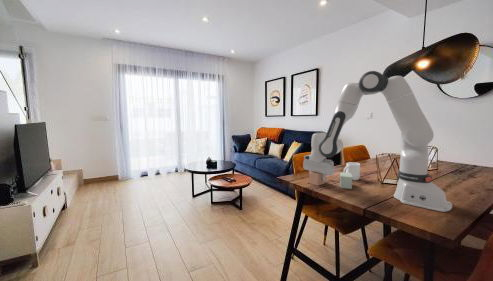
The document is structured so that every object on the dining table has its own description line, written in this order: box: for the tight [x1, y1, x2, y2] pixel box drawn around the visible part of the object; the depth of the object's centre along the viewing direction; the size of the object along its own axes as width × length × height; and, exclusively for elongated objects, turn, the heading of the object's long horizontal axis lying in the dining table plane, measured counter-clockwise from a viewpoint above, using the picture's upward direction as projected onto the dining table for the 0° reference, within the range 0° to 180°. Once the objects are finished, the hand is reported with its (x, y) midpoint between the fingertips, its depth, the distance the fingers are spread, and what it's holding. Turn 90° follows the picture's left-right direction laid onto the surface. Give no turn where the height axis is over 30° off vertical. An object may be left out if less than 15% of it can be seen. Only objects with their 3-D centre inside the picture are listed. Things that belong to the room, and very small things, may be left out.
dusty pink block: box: [308, 172, 327, 187], centre depth 136 cm, size 6×9×7 cm
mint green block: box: [339, 172, 353, 190], centre depth 130 cm, size 6×9×7 cm
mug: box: [343, 161, 361, 181], centre depth 144 cm, size 12×8×10 cm
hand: (317, 179), depth 136 cm, fingers closed on dusty pink block, 6 cm apart
